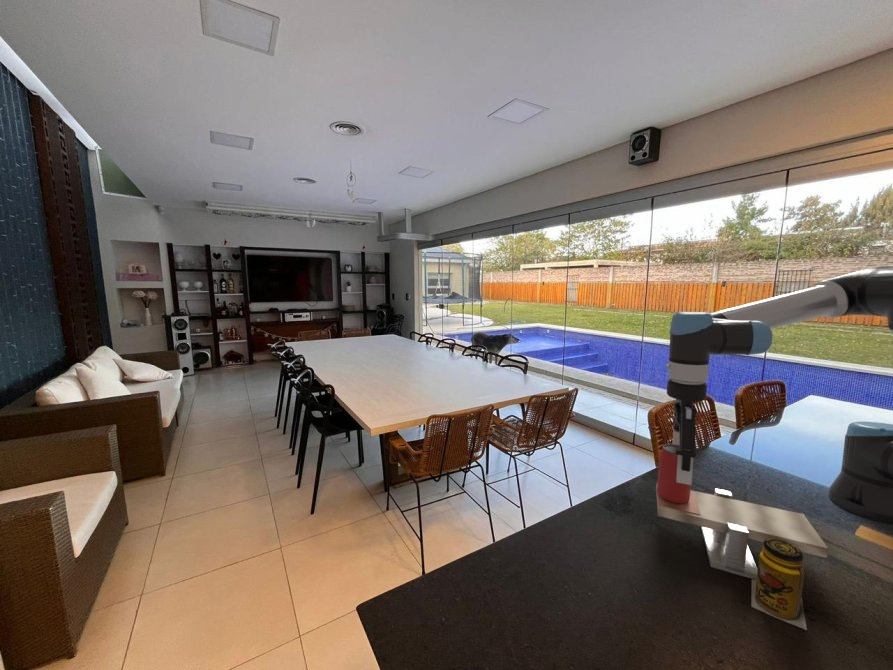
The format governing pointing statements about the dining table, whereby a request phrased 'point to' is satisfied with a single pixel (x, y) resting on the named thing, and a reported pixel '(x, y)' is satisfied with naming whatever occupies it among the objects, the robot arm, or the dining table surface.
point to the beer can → (671, 477)
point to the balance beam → (745, 520)
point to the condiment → (780, 582)
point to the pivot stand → (730, 547)
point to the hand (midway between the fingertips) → (680, 469)
